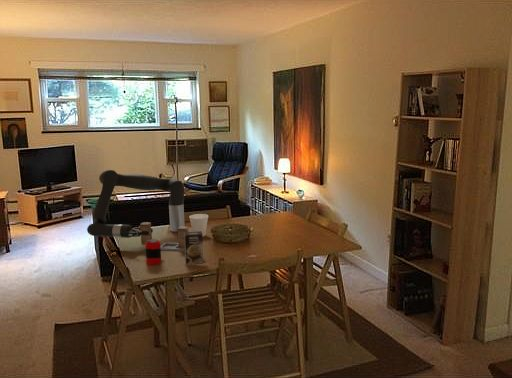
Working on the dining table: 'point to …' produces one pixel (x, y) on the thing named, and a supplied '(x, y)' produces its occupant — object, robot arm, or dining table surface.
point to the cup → (199, 222)
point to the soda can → (153, 252)
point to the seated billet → (182, 236)
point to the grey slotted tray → (171, 247)
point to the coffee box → (193, 248)
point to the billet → (145, 227)
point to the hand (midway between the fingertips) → (150, 232)
